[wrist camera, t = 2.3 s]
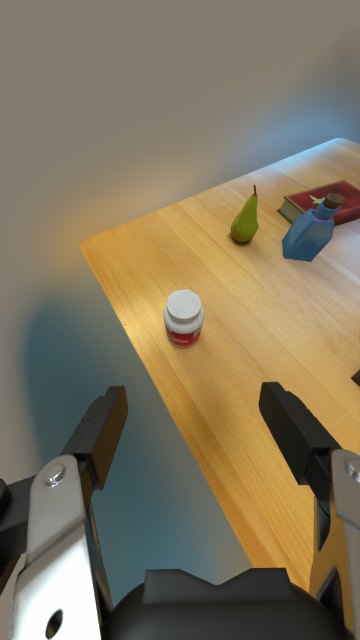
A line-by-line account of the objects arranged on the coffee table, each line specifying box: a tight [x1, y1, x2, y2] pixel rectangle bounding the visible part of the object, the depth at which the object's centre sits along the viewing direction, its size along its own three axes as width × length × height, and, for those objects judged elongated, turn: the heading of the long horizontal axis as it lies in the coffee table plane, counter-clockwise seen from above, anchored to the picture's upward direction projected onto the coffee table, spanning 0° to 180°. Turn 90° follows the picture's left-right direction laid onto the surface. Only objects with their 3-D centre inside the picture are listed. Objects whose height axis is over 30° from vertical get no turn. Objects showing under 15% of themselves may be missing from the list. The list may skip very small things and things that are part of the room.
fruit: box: [231, 185, 258, 242], centre depth 38 cm, size 6×6×12 cm
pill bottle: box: [164, 289, 204, 348], centre depth 27 cm, size 6×6×11 cm
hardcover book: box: [277, 180, 360, 226], centre depth 46 cm, size 12×21×4 cm, turn 112°
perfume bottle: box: [282, 193, 345, 261], centre depth 36 cm, size 6×6×12 cm
